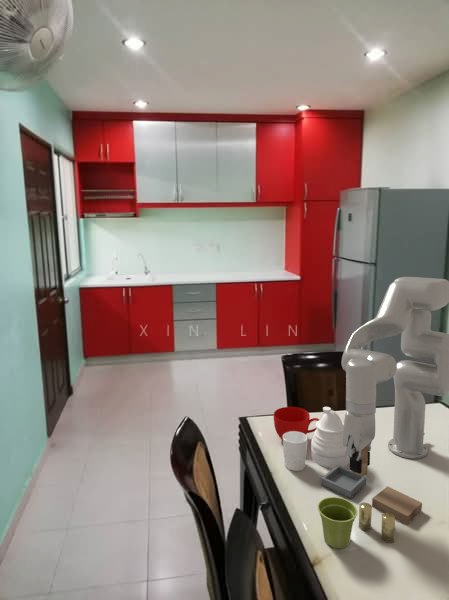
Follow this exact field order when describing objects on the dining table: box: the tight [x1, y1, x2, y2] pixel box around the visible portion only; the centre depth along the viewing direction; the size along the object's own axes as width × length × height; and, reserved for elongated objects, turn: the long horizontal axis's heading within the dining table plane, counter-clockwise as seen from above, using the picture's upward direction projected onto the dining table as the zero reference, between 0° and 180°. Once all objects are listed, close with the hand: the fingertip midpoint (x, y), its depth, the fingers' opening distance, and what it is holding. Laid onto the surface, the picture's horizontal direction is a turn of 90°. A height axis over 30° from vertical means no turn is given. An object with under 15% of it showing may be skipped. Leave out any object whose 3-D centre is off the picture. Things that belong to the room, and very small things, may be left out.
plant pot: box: [317, 496, 358, 549], centre depth 104 cm, size 9×9×9 cm
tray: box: [320, 465, 367, 500], centre depth 127 cm, size 10×10×2 cm
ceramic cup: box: [273, 406, 320, 441], centre depth 153 cm, size 13×17×10 cm
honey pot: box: [310, 406, 350, 469], centre depth 141 cm, size 13×13×18 cm
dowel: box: [352, 445, 369, 476], centre depth 115 cm, size 4×4×8 cm
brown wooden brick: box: [371, 485, 423, 526], centre depth 116 cm, size 8×10×3 cm
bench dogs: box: [358, 502, 396, 544], centre depth 107 cm, size 3×9×6 cm, turn 45°
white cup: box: [282, 431, 308, 472], centre depth 137 cm, size 8×8×10 cm
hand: (359, 466), depth 115 cm, fingers closed on dowel, 4 cm apart
